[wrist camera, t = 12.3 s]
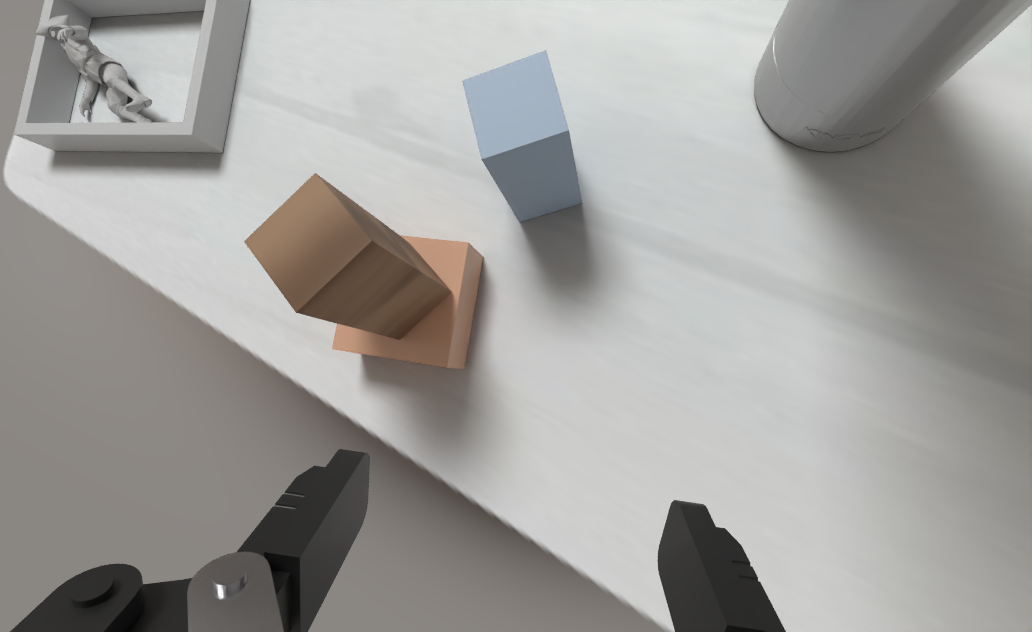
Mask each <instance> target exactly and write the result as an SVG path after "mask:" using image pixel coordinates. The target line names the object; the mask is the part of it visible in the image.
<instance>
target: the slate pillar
mask: <svg viewBox="0 0 1032 632" xmlns="http://www.w3.org/2000/svg"><path fill="white" fill-rule="evenodd" d="M462 82H463V86H464V90H465V94H466V98H467V102H468V106H469V110H470V114H471V118H472V122H473V126H474V130H475V134H476V139H477V143H478V147H479V151H480V155H481V159H482V161H483V162H484V164H485V166H486V167H487V169H488V171H489V172H490V174H491V176H492V177H493V179H494V181H495V182H496V184H497V186H498V187H499V189H500V191H501V192H502V194H503V196H504V197H505V199H506V200H507V202H508V204H509V205H510V207H511V209H512V210H513V212H514V214H515V215H516V217H517V219H518V220H519V222H523V221H526V220H529V219H533V218H536V217H539V216H542V215H546V214H549V213H552V212H555V211H559V210H562V209H565V208H568V207H572V206H575V205H578V204H581V203H582V200H581V195H580V189H579V184H578V178H577V173H576V167H575V161H574V156H573V150H572V145H571V139H570V134H569V129H568V125H567V122H566V118H565V115H564V111H563V108H562V104H561V101H560V97H559V94H558V90H557V87H556V83H555V80H554V76H553V73H552V69H551V66H550V62H549V59H548V55H547V52H546V50H545V51H543V52H540V53H537V54H534V55H532V56H529V57H526V58H523V59H521V60H518V61H515V62H512V63H510V64H507V65H504V66H501V67H499V68H496V69H493V70H490V71H488V72H485V73H482V74H480V75H477V76H474V77H471V78H469V79H466V80H463V81H462Z"/></svg>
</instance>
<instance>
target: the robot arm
mask: <svg viewBox="0 0 1032 632" xmlns="http://www.w3.org/2000/svg"><path fill="white" fill-rule="evenodd" d="M1031 5H1032V0H789V1H788V3H787V6H786V8H785V10H784V12H783V14H782V16H781V18H780V20H779V22H778V24H777V26H776V28H775V31H774V33H773V35H772V37H771V39H770V41H769V44H768V46H767V48H766V50H765V52H764V54H763V57H762V59H761V61H760V63H759V66H758V69H757V72H756V76H755V85H754V93H755V98H756V104H757V106H758V109H759V111H760V113H761V115H762V117H763V119H764V120H765V121H766V123H767V124H768V125H769V126H770V128H771V129H772V130H773V131H775V132H776V133H777V134H778V135H780V136H781V137H782V138H783V139H785V140H787V141H789V142H791V143H793V144H795V145H797V146H800V147H803V148H807V149H810V150H816V151H826V152H834V151H846V150H850V149H854V148H858V147H862V146H865V145H867V144H869V143H871V142H873V141H875V140H877V139H879V138H881V137H882V136H883V135H885V134H886V133H887V132H889V131H890V130H891V129H893V128H894V127H895V126H896V125H897V124H898V123H899V122H901V121H902V120H903V119H904V118H905V117H906V116H907V115H908V114H910V113H911V112H912V111H913V110H914V109H915V108H916V107H917V106H918V105H920V104H921V103H922V102H923V101H924V100H925V99H926V98H927V97H929V96H930V95H931V94H932V93H933V92H935V91H936V90H937V89H938V88H939V87H940V86H941V85H942V84H944V83H945V82H946V81H947V80H948V79H949V78H950V77H951V76H952V75H954V74H955V73H956V72H957V71H958V70H959V69H960V68H961V67H962V66H964V65H965V64H966V63H967V62H968V61H969V60H970V59H971V58H973V57H974V56H975V55H976V54H977V53H978V52H979V51H980V50H981V49H983V48H984V47H985V46H986V45H987V44H988V43H989V42H990V41H991V40H993V39H994V38H995V37H996V36H997V35H998V34H999V33H1000V32H1002V31H1003V30H1004V29H1005V28H1006V27H1007V26H1008V25H1009V24H1010V23H1012V22H1013V21H1014V20H1015V19H1016V18H1017V17H1018V16H1019V15H1020V14H1022V13H1023V12H1024V11H1025V10H1026V9H1027V8H1028V7H1029V6H1031ZM369 466H370V457H369V454H368V453H362V452H355V451H349V450H343V449H340V450H338V451H337V452H336V454H335V455H334V456H333V458H332V459H331V461H330V462H329V463H328V465H327V466H326V467H320V466H313V467H312V468H310V469H309V470H307V471H306V472H304V473H303V474H301V475H299V476H298V477H296V478H295V480H294V481H293V482H292V483H291V485H290V486H289V487H288V489H287V490H286V491H285V494H283V495H282V496H281V497H280V498H279V500H278V501H277V502H276V504H275V507H272V508H271V510H270V511H269V512H268V513H267V515H266V516H265V517H264V518H263V520H262V521H261V522H260V523H259V525H258V526H257V527H256V528H255V530H254V531H253V532H252V533H251V535H250V536H249V537H248V538H247V540H246V541H245V542H244V543H243V545H242V546H241V547H240V548H239V550H238V551H237V552H235V553H231V554H227V555H224V556H221V557H219V558H217V559H215V560H213V561H211V562H209V563H208V564H206V565H205V566H204V567H202V568H201V569H200V570H199V571H198V572H197V573H196V574H195V575H194V577H193V578H190V579H184V580H176V581H169V582H160V583H152V584H143V581H142V576H141V573H140V572H139V570H138V569H136V568H135V567H133V566H131V565H126V564H109V565H104V566H100V567H97V568H93V569H90V570H87V571H85V572H83V573H81V574H79V575H76V576H75V577H73V578H71V579H69V580H68V581H66V582H65V583H63V584H62V585H61V586H59V587H58V588H57V589H56V590H55V591H53V592H52V593H51V594H50V595H49V596H48V597H47V598H46V599H45V600H44V601H43V602H42V603H41V604H39V605H38V606H37V607H36V608H35V609H34V610H33V611H32V612H31V613H30V614H29V615H28V616H27V617H26V618H25V619H23V620H22V621H21V622H20V623H19V624H18V625H17V626H16V627H15V628H14V629H13V630H12V631H10V632H308V630H309V628H310V626H311V624H312V622H313V620H314V618H315V616H316V615H317V613H318V611H319V608H320V607H321V605H322V603H323V601H324V599H325V597H326V595H327V593H328V591H329V589H330V587H331V585H332V583H333V581H334V579H335V577H336V575H337V574H338V572H339V570H340V568H341V566H342V564H343V562H344V560H345V558H346V556H347V554H348V552H349V550H350V548H351V546H352V544H353V542H354V540H355V538H356V536H357V534H358V532H359V531H360V529H361V526H362V524H363V521H364V518H365V515H366V510H367V504H368V487H369ZM658 570H659V575H660V579H661V582H662V586H663V589H664V593H665V597H666V600H667V604H668V607H669V611H670V615H671V618H672V622H673V625H674V629H675V632H786V631H785V629H784V627H783V625H782V624H781V622H780V620H779V618H778V616H777V614H776V612H775V610H774V608H773V606H772V604H771V602H770V600H769V598H768V596H767V594H766V592H765V591H764V589H763V587H762V585H761V583H760V582H758V577H757V575H756V573H755V571H754V569H753V567H751V566H750V561H749V560H748V558H747V556H746V554H745V552H744V550H743V548H742V546H741V545H740V544H739V542H738V541H737V540H736V539H735V538H734V537H733V536H732V535H731V534H730V533H729V532H728V531H727V530H726V529H725V528H719V527H716V526H715V524H714V522H713V520H712V518H711V516H710V514H709V512H708V509H707V508H706V506H705V505H703V504H697V503H691V502H684V501H677V500H674V501H673V502H672V503H671V506H670V509H669V513H668V516H667V520H666V523H665V527H664V530H663V534H662V538H661V541H660V545H659V550H658Z"/></svg>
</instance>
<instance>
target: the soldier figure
mask: <svg viewBox="0 0 1032 632" xmlns="http://www.w3.org/2000/svg"><path fill="white" fill-rule="evenodd" d="M35 34H36V35H40V36H45V37H48V38H51V39H54V40H59V41H61V43H62V44H61V45H62V46H63V51H64V53H65V54H67V55H68V57H69V59H70V61H71V62H72V63H73V64H74V65H75V67H76V68H77V69H78V70H79V72H80V73H81V75H82V76H83V78H84V79H85V81H86V83H87V84H86V87H85V91H84V94H83V97H82V98H83V99H82V100H81V103H80V105H79V107H80V112H81V114H82V115H83V116H84V117H85V115H84V111H85V110H89V111H90V113H92V111H91V109H90V106H89V103H92V101H93V100H94V96H95V95H96V93H97V90H98V85H99V84H98V83H100V84H101V85H102V86H104V87H107V88H108V90H107V92H106V97H107V101H108V108H109V109H110V110H111V111H112V112H113V113H115V114H116V115H117V116H118V117H120V118H126V119H129V120H132V121H134V122H135V123H154V122H153V121H151V120H150V119H148V118H144V116H142V115H140V114H138V113H137V112H139V111H140V110H141V109H143V108H144V107H149V106H150V105H151V104H152V100H151V99H149V98H148V97H145V96H142V95H140V94H139V93H138V92H137V91H135V90H134V89H133V88H132V87H131V86H130V85H129V83H128V76H127V72H126V70H125V69H124V68H123V67H122V65H121V64H120V63H118V62H117V61H115V60H113V59H111V58H109V57H107V56H105V55H104V54H102V53H100V51H99V50H98V48H97V47H96V46H95V45H93V44H92V42H91V41H90V40H89V39H88V35H89V34H88V31H87V30H86V28H84V27H82V26H79V25H76V26H70V25H69V16H68V15H65V16H56V17H53V18H51V19H50V20H48V21H47V22H46V23H43V24H41V25H40V26H39V27H38V29H37V31H36V33H35ZM128 96H129V97H130V98H132V99H133V101H132V102H131V103H129V104H127V101H128Z"/></svg>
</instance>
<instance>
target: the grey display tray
mask: <svg viewBox="0 0 1032 632" xmlns="http://www.w3.org/2000/svg"><path fill="white" fill-rule="evenodd" d="M249 3H250V0H45V1H44V6H43V10H42V14H41V19H40V23H39V26H40V25H41V24H43V23H46V22H47V21H48V20H50V19H51V18H53V17H56V16H65V15H68V16H69V25H70V26H76V25H79V26H82V27H84V28H86V30H87V31H88V33H89V29H90V24H91V19H92V18H95V17H111V16H127V15H143V14H159V13H175V12H191V11H204V15H203V20H202V25H201V30H200V36H199V41H198V46H197V51H196V57H195V62H194V67H193V73H192V78H191V83H190V88H189V94H188V99H187V104H186V110H185V115H184V120H183V122H154V123H69V121H70V116H71V112H72V107H73V103H74V98H75V93H76V89H77V84H78V79H79V75H80V72H79V70H78V69H77V68H76V67H75V65H74V64H73V63H72V62H71V61H70V59H69V57H68V55H67V54H65V53H64V51H63V46H62V45H61V44H62V43H61V41H59V40H54V39H51V38H48V37H45V36H40V35H37V36H36V41H35V45H34V49H33V54H32V59H31V63H30V67H29V71H28V76H27V80H26V84H25V89H24V93H23V97H22V102H21V106H20V110H19V115H18V119H17V124H16V128H15V132H14V135H17V136H19V137H22V138H24V139H27V140H29V141H32V142H34V143H37V144H39V145H42V146H44V147H46V148H49V149H51V150H54V151H121V152H210V153H223V148H224V143H225V137H226V132H227V126H228V120H229V115H230V109H231V104H232V98H233V92H234V87H235V81H236V76H237V70H238V64H239V59H240V53H241V48H242V42H243V37H244V31H245V25H246V20H247V14H248V9H249Z"/></svg>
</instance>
